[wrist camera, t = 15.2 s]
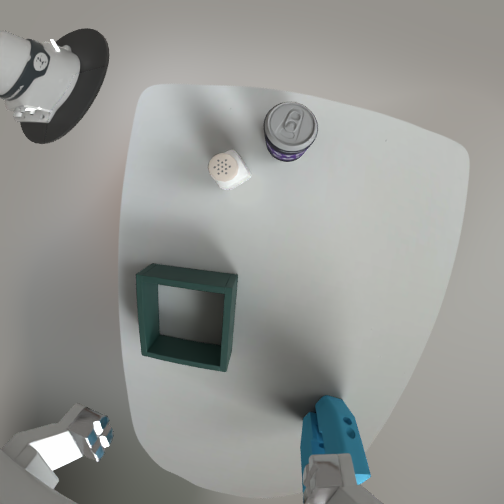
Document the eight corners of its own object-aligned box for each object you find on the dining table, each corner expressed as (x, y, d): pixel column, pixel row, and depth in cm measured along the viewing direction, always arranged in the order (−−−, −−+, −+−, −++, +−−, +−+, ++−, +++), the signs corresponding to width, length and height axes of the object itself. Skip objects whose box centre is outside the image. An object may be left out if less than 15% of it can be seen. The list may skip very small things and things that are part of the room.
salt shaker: (253, 176, 38) (247, 172, 29) (229, 191, 39) (216, 191, 30) (238, 153, 38) (228, 142, 28) (215, 168, 38) (198, 161, 29)
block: (316, 430, 48) (325, 505, 29) (296, 425, 48) (300, 503, 29) (349, 394, 45) (373, 474, 26) (329, 388, 45) (347, 473, 26)
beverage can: (259, 152, 37) (254, 136, 26) (276, 118, 36) (277, 90, 24) (296, 168, 37) (306, 159, 26) (312, 134, 36) (328, 112, 24)
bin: (155, 337, 45) (141, 355, 40) (152, 263, 42) (135, 274, 36) (231, 351, 45) (226, 372, 39) (238, 274, 41) (232, 288, 36)
